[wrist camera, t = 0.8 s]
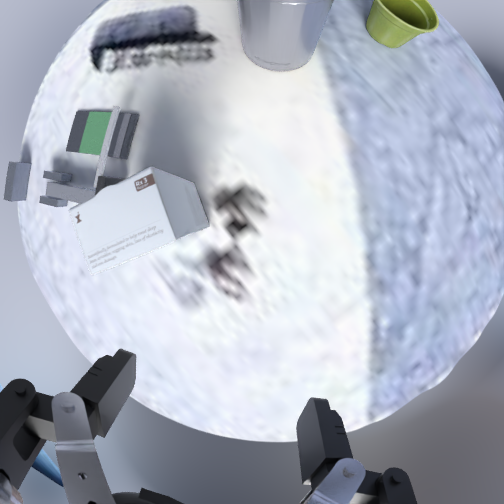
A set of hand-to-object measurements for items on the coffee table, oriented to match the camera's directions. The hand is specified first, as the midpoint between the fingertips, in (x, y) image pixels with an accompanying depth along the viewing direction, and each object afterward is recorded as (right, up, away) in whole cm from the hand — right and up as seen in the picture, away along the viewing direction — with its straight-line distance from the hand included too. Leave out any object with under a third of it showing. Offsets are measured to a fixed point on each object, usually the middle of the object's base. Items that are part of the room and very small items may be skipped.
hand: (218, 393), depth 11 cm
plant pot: (+21, +38, +15) cm, 46 cm away
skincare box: (-8, +11, +22) cm, 25 cm away
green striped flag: (-25, +19, +20) cm, 38 cm away
